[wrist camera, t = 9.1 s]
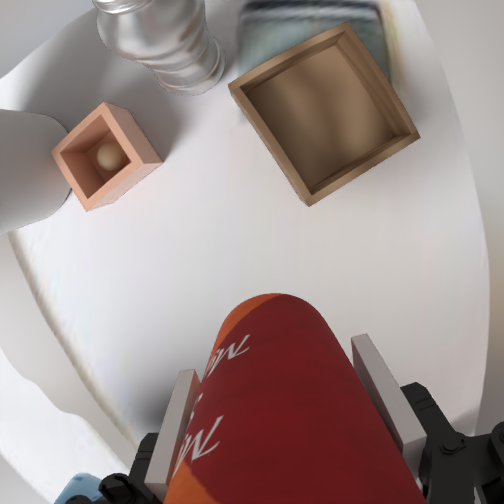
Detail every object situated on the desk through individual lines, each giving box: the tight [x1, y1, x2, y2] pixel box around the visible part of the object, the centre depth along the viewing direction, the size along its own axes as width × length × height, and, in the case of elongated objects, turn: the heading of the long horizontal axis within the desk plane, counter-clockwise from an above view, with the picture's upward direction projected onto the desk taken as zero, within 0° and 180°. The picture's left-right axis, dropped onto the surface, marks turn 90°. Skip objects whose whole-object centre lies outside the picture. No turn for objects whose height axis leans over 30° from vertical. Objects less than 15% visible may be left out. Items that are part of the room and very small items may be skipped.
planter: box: [51, 102, 163, 212], centre depth 28 cm, size 7×7×6 cm
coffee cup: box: [163, 293, 427, 504], centre depth 10 cm, size 8×8×15 cm
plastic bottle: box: [92, 0, 225, 96], centre depth 19 cm, size 6×7×20 cm
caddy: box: [228, 22, 421, 207], centre depth 27 cm, size 12×12×5 cm
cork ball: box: [97, 142, 126, 172], centre depth 29 cm, size 3×3×3 cm
